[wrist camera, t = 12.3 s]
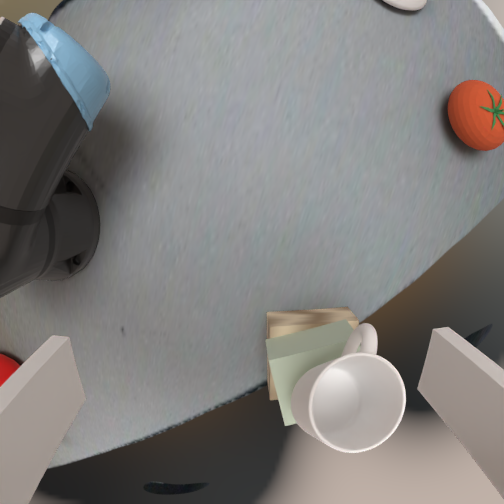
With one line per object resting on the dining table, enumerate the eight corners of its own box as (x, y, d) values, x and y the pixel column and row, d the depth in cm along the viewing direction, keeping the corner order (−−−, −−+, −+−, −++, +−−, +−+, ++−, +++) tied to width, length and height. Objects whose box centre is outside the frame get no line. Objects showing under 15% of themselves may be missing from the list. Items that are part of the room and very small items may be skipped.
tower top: (280, 402, 39) (285, 425, 34) (265, 339, 37) (268, 360, 32) (352, 383, 39) (364, 404, 34) (345, 319, 37) (359, 336, 32)
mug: (315, 323, 34) (342, 296, 25) (380, 345, 33) (425, 325, 24) (277, 424, 30) (292, 438, 20) (348, 444, 29) (387, 461, 19)
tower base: (267, 379, 44) (270, 400, 39) (266, 311, 42) (269, 326, 37) (340, 373, 44) (349, 392, 39) (346, 306, 42) (358, 320, 37)
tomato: (432, 80, 36) (471, 62, 26) (480, 96, 36) (520, 85, 26) (436, 146, 38) (480, 140, 28) (484, 157, 38) (527, 155, 28)
